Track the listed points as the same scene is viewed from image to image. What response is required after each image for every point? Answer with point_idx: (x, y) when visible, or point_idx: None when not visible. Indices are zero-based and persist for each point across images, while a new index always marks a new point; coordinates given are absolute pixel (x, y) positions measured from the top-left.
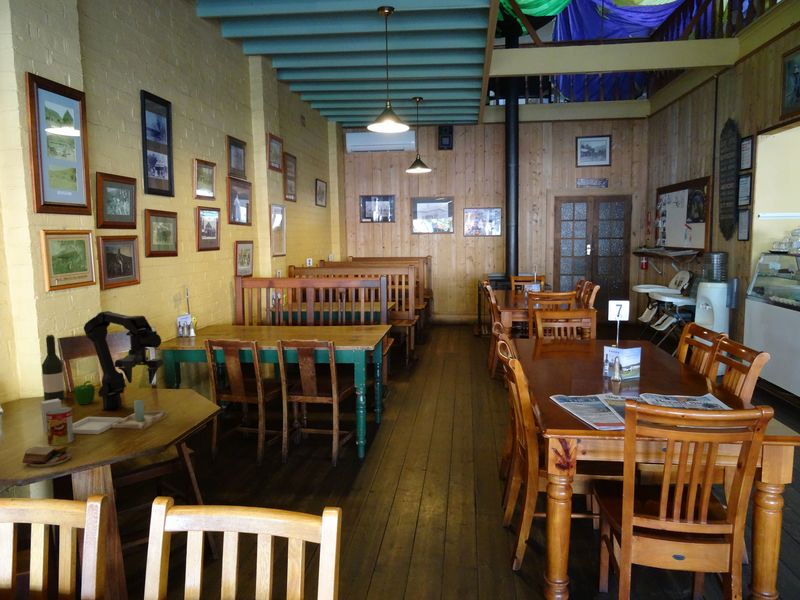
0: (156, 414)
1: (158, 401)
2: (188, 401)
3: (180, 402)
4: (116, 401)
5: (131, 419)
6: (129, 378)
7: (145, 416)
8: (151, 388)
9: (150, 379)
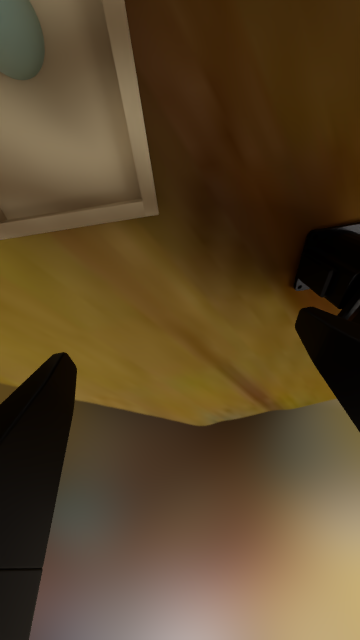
0: (44, 213)
1: (203, 358)
2: (110, 381)
3: (126, 370)
4: (329, 264)
5: (99, 48)
6: (340, 344)
7: (71, 159)
8: (283, 409)
9: (14, 395)
